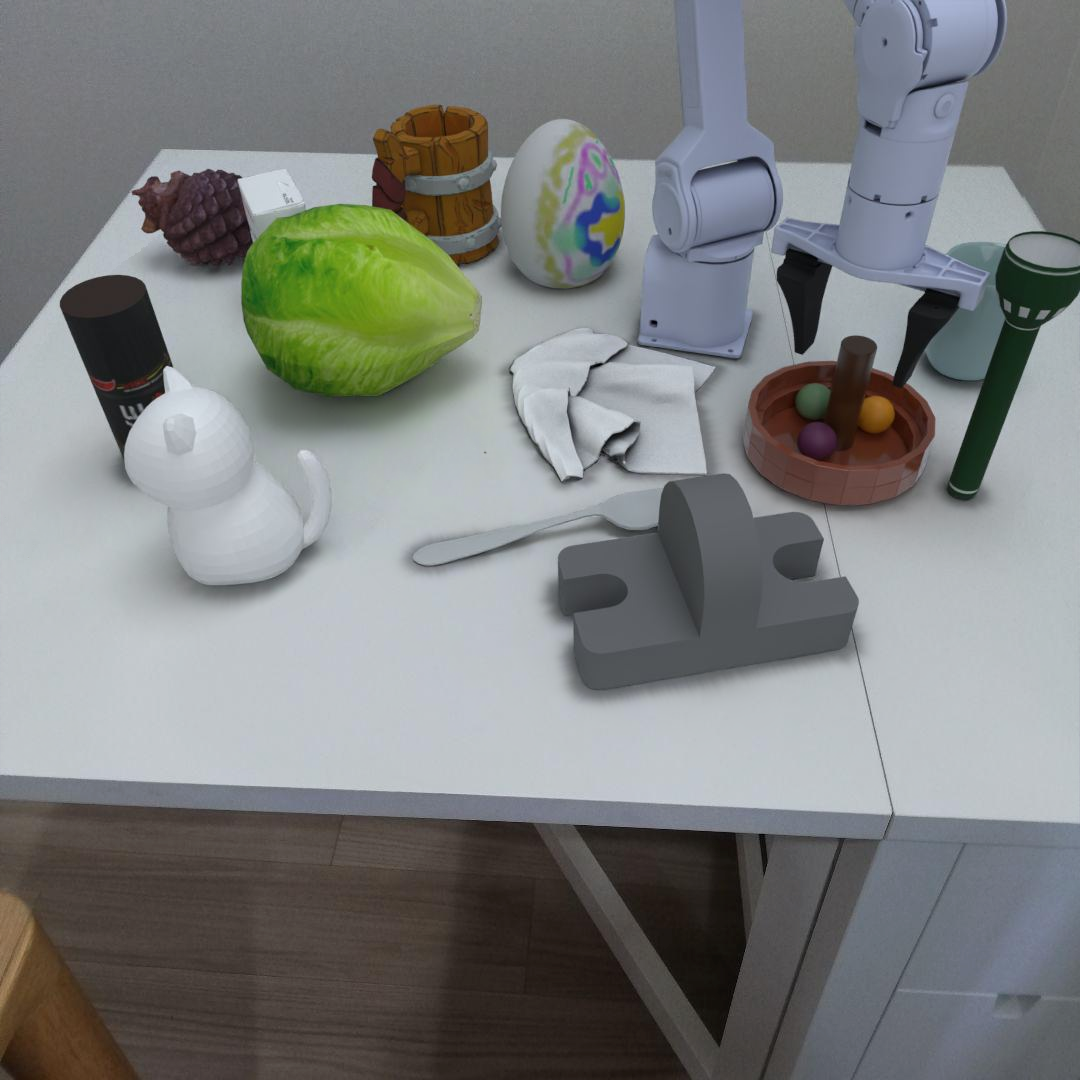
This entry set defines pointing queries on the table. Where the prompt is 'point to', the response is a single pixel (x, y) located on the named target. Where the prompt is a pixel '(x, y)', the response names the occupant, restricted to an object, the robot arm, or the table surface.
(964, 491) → the flashlight
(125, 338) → the deodorant
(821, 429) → the plum bead
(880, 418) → the amber bead
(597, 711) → the table surface
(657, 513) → the spoon
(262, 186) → the ink box
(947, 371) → the cup
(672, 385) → the cloth
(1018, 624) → the table surface
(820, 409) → the sage bead
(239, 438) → the cat figurine
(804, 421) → the bowl
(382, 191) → the mug
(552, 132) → the decorative egg
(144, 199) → the pine cone
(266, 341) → the lettuce
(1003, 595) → the table surface
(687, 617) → the bracket
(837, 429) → the stick
